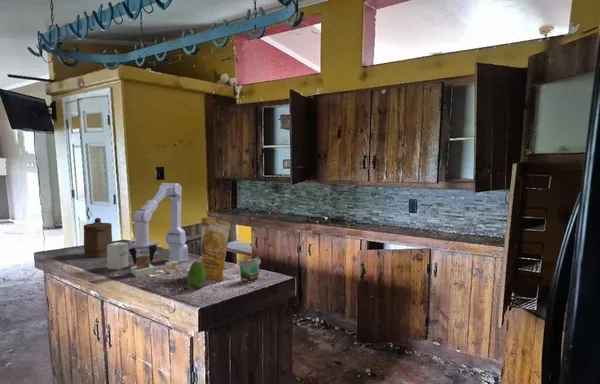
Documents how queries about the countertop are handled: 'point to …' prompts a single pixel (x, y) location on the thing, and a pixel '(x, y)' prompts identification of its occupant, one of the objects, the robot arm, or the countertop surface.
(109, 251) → the supplement box
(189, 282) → the avocado
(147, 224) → the robot arm
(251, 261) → the food container
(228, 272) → the countertop surface
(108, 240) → the wooden container
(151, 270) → the plinth
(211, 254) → the pancake mix bag
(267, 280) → the countertop surface
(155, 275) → the card
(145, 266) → the walnut block
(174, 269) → the beech block
